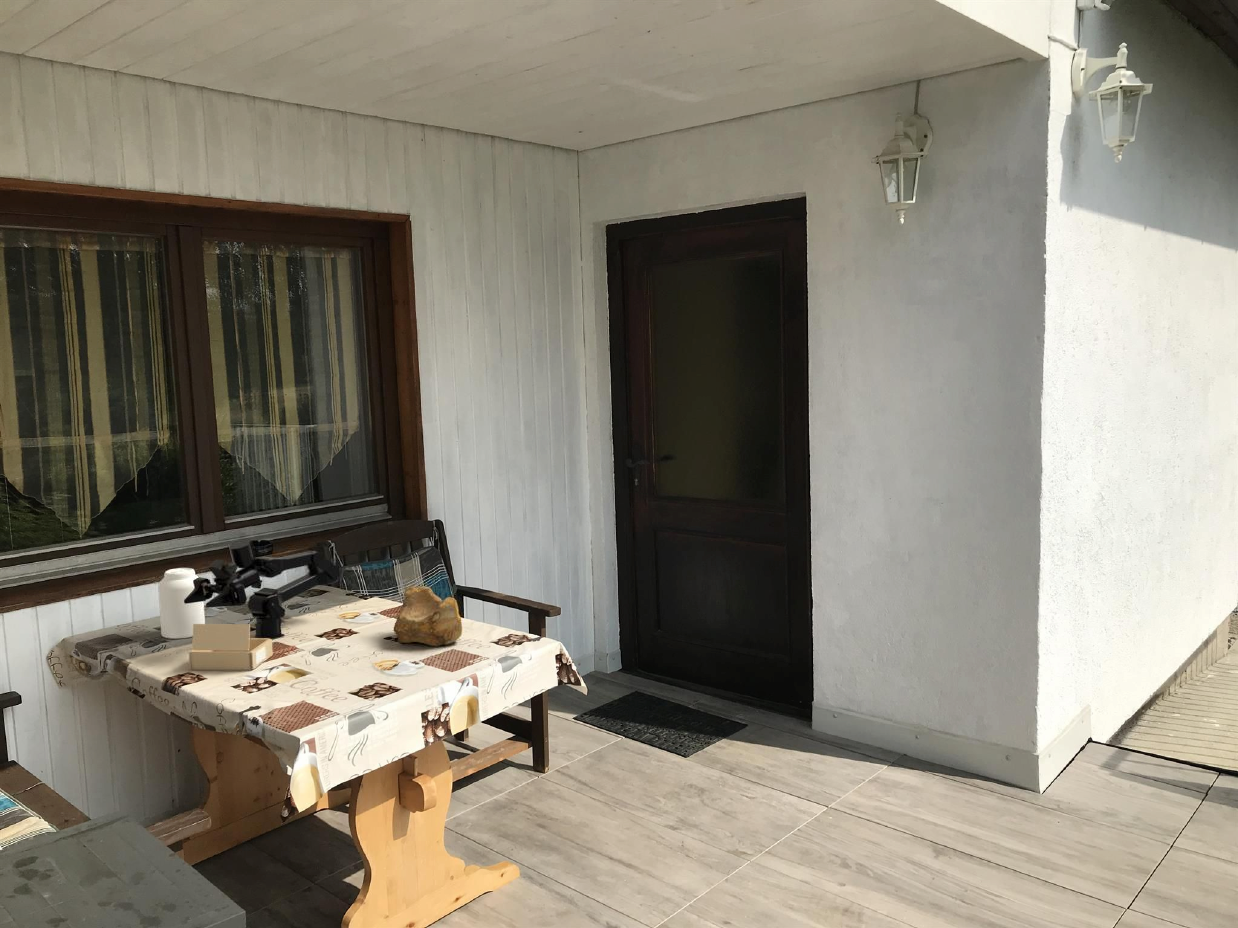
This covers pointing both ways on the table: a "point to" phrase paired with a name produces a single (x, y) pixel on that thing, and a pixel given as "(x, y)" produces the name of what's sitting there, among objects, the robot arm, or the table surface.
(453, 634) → the rough brown rock
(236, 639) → the flap
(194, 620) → the white jar
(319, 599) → the table surface
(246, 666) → the carton
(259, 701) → the table surface
